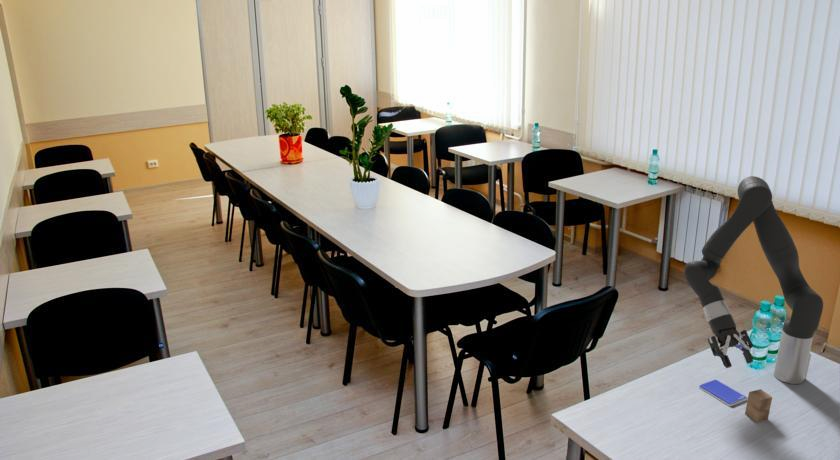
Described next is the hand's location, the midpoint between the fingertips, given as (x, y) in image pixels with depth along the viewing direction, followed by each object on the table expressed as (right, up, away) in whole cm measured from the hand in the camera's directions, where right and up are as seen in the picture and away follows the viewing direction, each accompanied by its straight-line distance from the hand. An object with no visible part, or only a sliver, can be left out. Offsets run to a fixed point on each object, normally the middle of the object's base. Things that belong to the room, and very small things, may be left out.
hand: (739, 365), depth 219 cm
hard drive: (-2, -12, +8) cm, 15 cm away
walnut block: (+3, -15, -4) cm, 16 cm away
